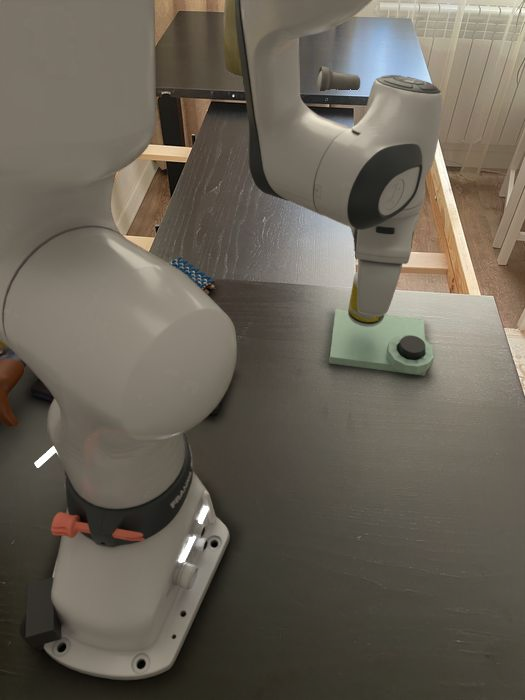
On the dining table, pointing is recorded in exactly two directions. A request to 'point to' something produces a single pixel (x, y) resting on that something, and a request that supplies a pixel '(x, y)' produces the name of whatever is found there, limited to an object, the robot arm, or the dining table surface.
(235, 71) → the vase
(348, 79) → the pipe fitting
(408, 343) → the tare button
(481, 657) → the dining table surface
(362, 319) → the supplement bottle
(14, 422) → the figurine
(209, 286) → the woven mat
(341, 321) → the scale
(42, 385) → the eraser
